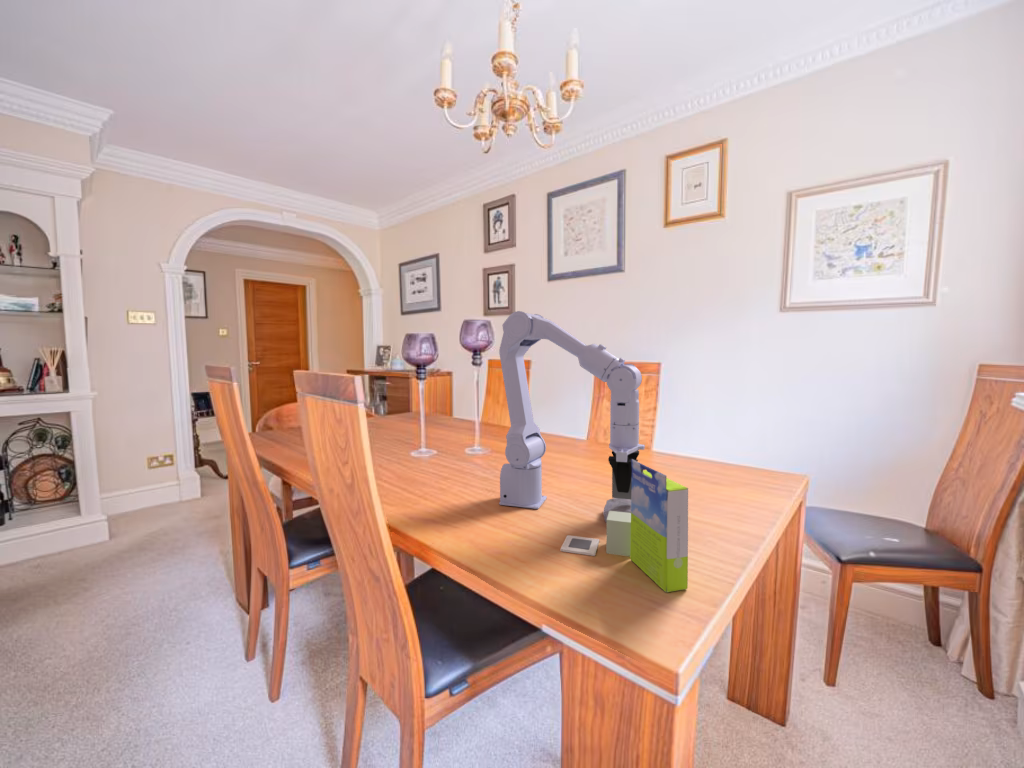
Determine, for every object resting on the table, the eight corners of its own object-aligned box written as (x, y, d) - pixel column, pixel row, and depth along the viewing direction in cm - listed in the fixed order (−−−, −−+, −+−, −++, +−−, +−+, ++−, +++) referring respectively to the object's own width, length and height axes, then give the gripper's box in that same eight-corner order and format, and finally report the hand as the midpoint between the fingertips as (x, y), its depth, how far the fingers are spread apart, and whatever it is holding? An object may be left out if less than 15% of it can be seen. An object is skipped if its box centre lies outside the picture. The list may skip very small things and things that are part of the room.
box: (689, 590, 62) (691, 473, 60) (664, 594, 61) (665, 475, 60) (649, 557, 72) (650, 456, 71) (627, 559, 71) (628, 458, 70)
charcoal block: (612, 497, 86) (612, 468, 86) (614, 491, 91) (614, 463, 90) (634, 499, 85) (635, 470, 85) (635, 492, 89) (636, 465, 89)
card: (560, 551, 74) (560, 548, 74) (567, 537, 80) (567, 534, 80) (594, 556, 72) (594, 553, 72) (599, 541, 78) (599, 538, 78)
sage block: (606, 553, 73) (606, 519, 73) (609, 542, 78) (609, 510, 77) (633, 557, 72) (633, 522, 72) (634, 545, 76) (634, 513, 76)
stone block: (607, 539, 83) (659, 533, 81) (602, 515, 83) (654, 508, 81) (606, 518, 95) (651, 512, 93) (601, 497, 95) (647, 491, 93)
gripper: (643, 430, 79) (643, 501, 80) (645, 418, 92) (645, 479, 93) (605, 428, 81) (605, 497, 82) (612, 417, 95) (612, 477, 96)
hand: (624, 488), depth 88 cm, fingers closed on charcoal block, 4 cm apart
